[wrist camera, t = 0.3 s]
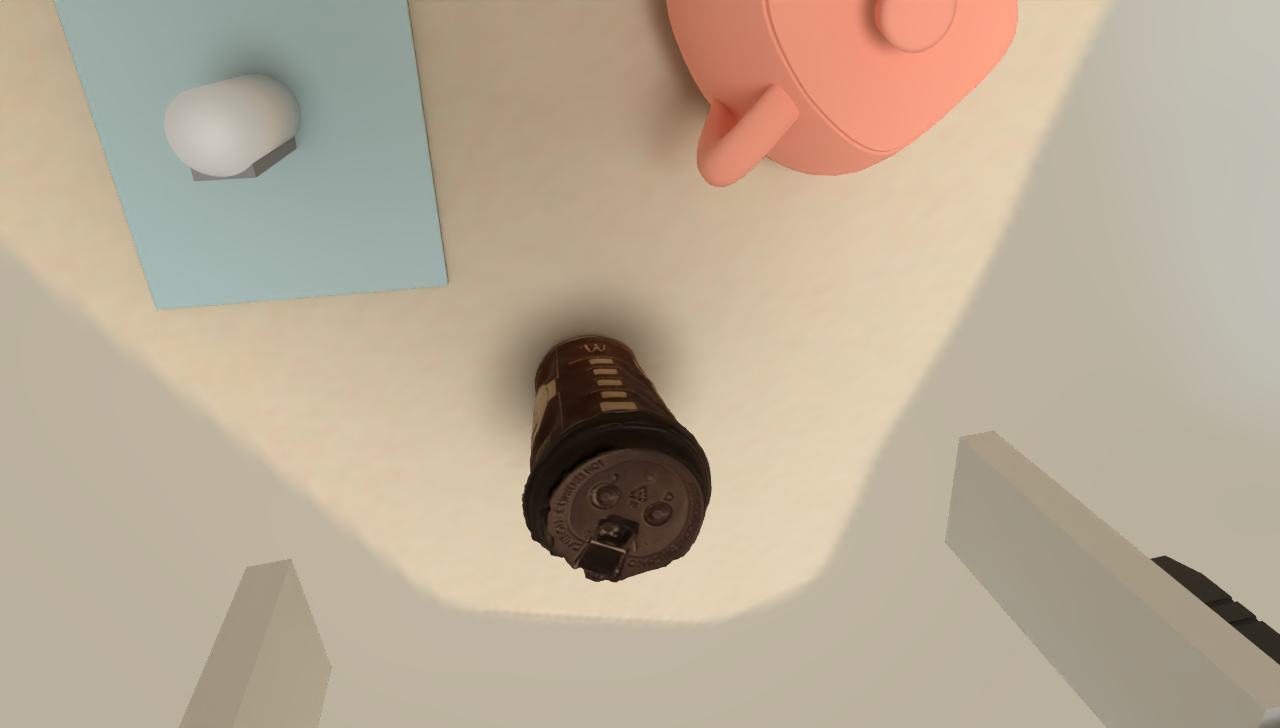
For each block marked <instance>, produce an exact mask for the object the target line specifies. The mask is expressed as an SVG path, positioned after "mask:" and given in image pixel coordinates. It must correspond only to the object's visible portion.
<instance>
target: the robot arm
mask: <svg viewBox="0 0 1280 728" xmlns="http://www.w3.org/2000/svg"><path fill="white" fill-rule="evenodd" d="M945 543H946V544H947V545H948V546H949V547H950V549H951V550H952V551H953V552H954V553H955V554H956V555H957V557H958V558H959V559H960V560H961V561H962V562H963V564H964V565H965V566H966V567H967V568H968V569H969V570H970V572H971V573H972V574H973V575H974V576H975V577H976V579H977V580H978V581H979V582H980V583H981V584H982V585H983V586H984V588H985V589H986V590H987V591H988V592H989V593H990V595H991V596H992V597H993V598H994V599H995V600H996V601H997V602H998V604H999V605H1000V606H1001V607H1002V608H1003V609H1004V611H1005V612H1006V613H1007V614H1008V615H1009V616H1010V617H1011V619H1012V620H1013V621H1014V622H1015V623H1016V624H1017V625H1018V627H1019V628H1020V629H1021V630H1022V631H1023V632H1024V633H1025V635H1026V636H1027V637H1028V638H1029V639H1030V640H1031V641H1032V643H1033V644H1034V645H1035V646H1036V647H1037V648H1038V649H1039V651H1040V652H1041V653H1042V654H1043V655H1044V656H1045V658H1046V659H1047V660H1048V661H1049V662H1050V663H1051V664H1052V666H1053V667H1054V668H1055V669H1056V670H1057V671H1058V672H1059V674H1060V675H1061V676H1062V677H1063V678H1064V679H1065V680H1066V682H1067V683H1068V684H1069V685H1070V686H1071V687H1072V688H1073V689H1074V691H1075V692H1076V693H1077V694H1078V695H1079V696H1080V698H1081V699H1082V700H1083V701H1084V702H1085V703H1086V704H1087V706H1088V707H1090V709H1091V710H1092V711H1093V713H1094V714H1095V715H1096V716H1097V717H1098V718H1099V719H1100V720H1101V722H1102V723H1103V724H1104V725H1105V726H1106V727H1107V728H1280V634H1279V633H1277V632H1276V631H1275V630H1273V629H1272V628H1271V627H1269V626H1268V625H1267V624H1266V623H1264V622H1263V621H1260V622H1259V621H1258V620H1257V619H1256V616H1255V615H1254V614H1253V613H1252V612H1250V611H1249V610H1248V609H1246V608H1245V607H1244V606H1243V605H1241V604H1240V603H1239V602H1234V601H1233V600H1232V597H1231V596H1230V595H1228V594H1227V593H1226V592H1225V591H1223V590H1222V589H1221V588H1219V587H1218V586H1217V585H1216V584H1214V583H1213V582H1212V581H1211V580H1209V579H1208V578H1207V577H1205V576H1204V575H1203V574H1201V573H1199V572H1197V571H1195V570H1193V569H1191V568H1189V567H1187V566H1185V565H1183V564H1181V563H1179V562H1177V561H1175V560H1173V559H1171V558H1169V557H1167V556H1161V557H1157V558H1152V559H1149V558H1148V557H1147V556H1146V555H1144V554H1143V553H1142V552H1141V551H1139V550H1138V549H1137V548H1136V547H1135V546H1133V545H1132V544H1131V543H1130V542H1129V541H1127V540H1126V539H1125V538H1124V537H1123V536H1121V535H1120V534H1119V533H1118V532H1116V531H1115V530H1114V529H1113V528H1111V527H1110V526H1109V525H1108V524H1107V523H1105V522H1104V521H1103V520H1102V519H1100V518H1099V517H1098V516H1097V515H1096V514H1094V513H1093V512H1092V511H1091V510H1090V509H1088V508H1087V507H1086V506H1085V505H1083V504H1082V503H1081V502H1080V501H1078V500H1077V499H1076V498H1075V497H1074V496H1072V495H1071V494H1070V493H1069V492H1068V491H1066V490H1065V489H1064V488H1063V487H1061V486H1060V485H1059V484H1058V483H1057V482H1055V481H1054V480H1053V479H1052V478H1050V477H1049V476H1048V475H1047V474H1046V473H1044V472H1043V471H1042V470H1041V469H1039V468H1038V467H1037V466H1036V465H1035V464H1033V463H1032V462H1031V461H1030V460H1028V459H1027V458H1026V457H1025V456H1024V455H1022V454H1021V453H1020V452H1019V451H1017V450H1016V449H1015V448H1014V447H1013V446H1011V445H1010V444H1009V443H1008V442H1007V441H1005V440H1004V439H1003V438H1002V437H1000V436H999V435H998V434H997V433H996V432H994V431H991V432H985V433H979V434H974V435H969V436H964V437H960V438H959V445H958V452H957V459H956V467H955V474H954V481H953V488H952V496H951V503H950V510H949V517H948V525H947V532H946V539H945ZM331 668H332V667H331V664H330V661H329V659H328V656H327V653H326V651H325V648H324V645H323V643H322V640H321V637H320V634H319V632H318V629H317V626H316V624H315V621H314V619H313V616H312V613H311V610H310V608H309V605H308V602H307V600H306V598H305V594H304V592H303V589H302V586H301V584H300V581H299V578H298V576H297V573H296V570H295V568H294V565H293V562H292V560H291V559H288V560H283V561H277V562H271V563H267V564H261V565H256V566H249V567H246V570H245V572H244V574H243V577H242V579H241V582H240V584H239V586H238V589H237V591H236V593H235V596H234V598H233V600H232V603H231V605H230V608H229V610H228V612H227V615H226V617H225V619H224V622H223V624H222V627H221V629H220V632H219V634H218V636H217V638H216V641H215V643H214V645H213V648H212V650H211V653H210V655H209V657H208V660H207V662H206V664H205V667H204V669H203V672H202V674H201V676H200V679H199V681H198V683H197V686H196V688H195V690H194V693H193V695H192V698H191V700H190V702H189V705H188V707H187V709H186V712H185V714H184V717H183V719H182V721H181V724H180V726H179V728H318V725H319V720H320V716H321V712H322V707H323V702H324V698H325V694H326V690H327V685H328V681H329V676H330V672H331Z"/></svg>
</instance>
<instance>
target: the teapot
mask: <svg viewBox="0 0 1280 728" xmlns="http://www.w3.org/2000/svg"><path fill="white" fill-rule="evenodd" d="M666 3H667V10H668V16H669V20H670V23H671V27H672V30H673V33H674V36H675V39H676V42H677V44H678V46H679V49H680V51H681V54H682V56H683V59H684V61H685V63H686V65H687V67H688V69H689V71H690V73H691V75H692V77H693V79H694V81H695V82H696V84H697V86H698V87H699V89H700V91H701V92H702V94H703V96H704V97H705V98H706V100H707V101H708V102H709V104H710V105H711V108H710V110H709V113H708V116H707V119H706V122H705V124H704V127H703V130H702V133H701V136H700V139H699V142H698V149H697V165H698V169H699V171H700V173H701V175H702V176H703V178H704V179H705V180H706V181H707V182H708V183H709V184H710V185H713V186H716V187H725V186H728V185H731V184H733V183H735V182H736V181H738V180H739V179H741V178H742V177H743V176H745V175H746V174H747V173H748V172H749V171H750V170H752V169H753V168H754V167H755V166H756V165H757V164H758V163H759V162H760V161H761V160H762V159H763V157H764V156H767V157H768V158H770V159H771V160H773V161H775V162H777V163H780V164H782V165H784V166H786V167H788V168H790V169H792V170H795V171H799V172H803V173H806V174H812V175H833V176H835V175H842V174H848V173H853V172H857V171H860V170H863V169H865V168H867V167H870V166H872V165H874V164H876V163H879V162H881V161H883V160H885V159H887V158H889V157H891V156H892V155H894V154H895V153H897V152H898V151H900V150H901V149H903V148H904V147H906V146H907V145H909V144H910V143H912V142H913V141H915V140H916V139H917V138H918V137H920V136H921V135H922V134H924V133H925V132H926V131H927V130H929V129H930V128H931V127H932V126H933V125H935V124H936V123H937V122H938V121H939V120H940V119H941V118H943V117H944V116H945V115H946V114H947V113H948V112H949V111H950V110H952V109H953V108H954V107H955V106H956V105H957V104H958V103H959V102H960V101H961V100H962V99H963V98H964V97H965V96H966V95H968V94H969V93H970V92H971V91H972V90H973V89H974V88H975V87H976V86H977V85H978V84H979V83H980V82H981V81H982V80H983V79H984V78H985V77H986V76H987V75H988V74H989V73H990V72H991V70H992V69H993V68H994V67H995V66H996V65H997V63H998V62H999V61H1000V60H1001V58H1002V57H1003V56H1004V55H1005V53H1006V52H1007V50H1008V48H1009V47H1010V45H1011V43H1012V41H1013V38H1014V35H1015V33H1016V27H1017V21H1018V5H1017V0H666Z"/></svg>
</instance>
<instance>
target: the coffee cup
mask: <svg viewBox="0 0 1280 728" xmlns="http://www.w3.org/2000/svg"><path fill="white" fill-rule="evenodd" d="M535 389H536V400H535V407H534V414H533V429H532V436H531V457H530V472H531V473H530V475H529V477H528V480H527V483H526V485H525V490H524V494H523V495H522V496H523V497H522V501H523V504H522V506H523V511H524V512H523V515H524V517H525V520H526V525H527V527H528V529H529V530H530V532H531V537H532V539H533V540H534V541H537V542H538V543H540V544H541V546H542V547H544V548H546V549H547V550H548V551H550V554H551V555H553V556H558V557H561V558H562V557H564V558H565V560H566V562H567V563H568V564H569V565H570V566H571V567H572V568H573V569H577V568H583V569H584V573H585V577H586V578H587V579H590V580H592V581H595V582H600V581H603V580H609V581H611V582H618V581H620V580H624V579H626V578H628V577H631V576H634V575H637V574H641V573H644V572H646V571H650V570H655V569H659V568H661V567H666V566H667V565H668V564H670V563H671V561H673V560H676V559H679V558H680V557H683V556H684V555H685V554H686V553H687V552H688V551H689V550H690V547H691V546H692V544H694V543H695V541H696V538H697V536H698V534H699V532H700V528H701V526H702V523H703V520H704V517H705V512H706V509H707V506H708V504H709V501H710V497H711V490H712V487H711V475H710V467H709V463H708V460H707V457H706V455H705V453H704V451H703V449H702V448H701V446H700V445H699V444H698V442H697V440H696V439H695V437H694V436H693V434H691V433H690V432H689V431H688V430H687V429H686V428H685V427H683V426H682V425H681V424H680V423H678V421H677V420H676V418H675V417H674V416H673V414H672V413H671V412H670V410H669V409H668V408H667V406H666V405H665V403H664V401H663V400H662V398H661V397H660V396H659V394H658V393H657V391H656V388H655V386H654V385H653V383H652V382H651V381H650V380H649V379H648V378H647V376H646V374H645V373H644V371H643V370H642V369H641V367H640V366H639V364H638V362H637V359H636V357H635V356H634V354H633V352H632V350H631V349H630V348H628V347H627V346H625V345H624V344H622V343H620V342H618V341H615V340H611V339H607V338H603V337H594V336H585V337H578V338H574V339H570V340H568V341H566V342H563V343H561V344H558V345H557V346H555V347H554V348H553V349H552V350H551V351H550V352H549V354H548V355H547V356H546V357H545V359H544V360H543V362H542V363H541V364H540V366H539V368H538V370H537V373H536V378H535Z"/></svg>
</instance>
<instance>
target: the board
mask: <svg viewBox="0 0 1280 728" xmlns="http://www.w3.org/2000/svg"><path fill="white" fill-rule="evenodd" d="M54 3H55V6H56V9H57V12H58V15H59V18H60V21H61V24H62V27H63V30H64V33H65V36H66V39H67V42H68V45H69V48H70V51H71V54H72V57H73V60H74V63H75V66H76V69H77V72H78V75H79V78H80V81H81V84H82V87H83V90H84V93H85V96H86V99H87V102H88V105H89V108H90V111H91V114H92V117H93V120H94V123H95V126H96V129H97V132H98V135H99V138H100V141H101V144H102V147H103V150H104V153H105V156H106V159H107V163H108V166H109V169H110V172H111V175H112V178H113V181H114V184H115V187H116V190H117V193H118V196H119V199H120V202H121V205H122V208H123V211H124V214H125V217H126V220H127V223H128V226H129V229H130V232H131V235H132V238H133V241H134V244H135V247H136V250H137V253H138V256H139V259H140V262H141V265H142V268H143V271H144V274H145V277H146V280H147V283H148V286H149V289H150V292H151V295H152V298H153V301H154V304H155V307H156V310H165V309H177V308H189V307H200V306H212V305H224V304H236V303H248V302H259V301H271V300H283V299H295V298H306V297H318V296H330V295H342V294H353V293H365V292H377V291H389V290H401V289H412V288H424V287H436V286H448V277H447V270H446V263H445V256H444V249H443V242H442V235H441V228H440V221H439V214H438V207H437V201H436V194H435V187H434V180H433V173H432V166H431V159H430V152H429V145H428V138H427V131H426V124H425V118H424V111H423V104H422V97H421V90H420V83H419V76H418V69H417V62H416V55H415V48H414V42H413V35H412V28H411V21H410V14H409V7H408V0H54Z"/></svg>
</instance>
